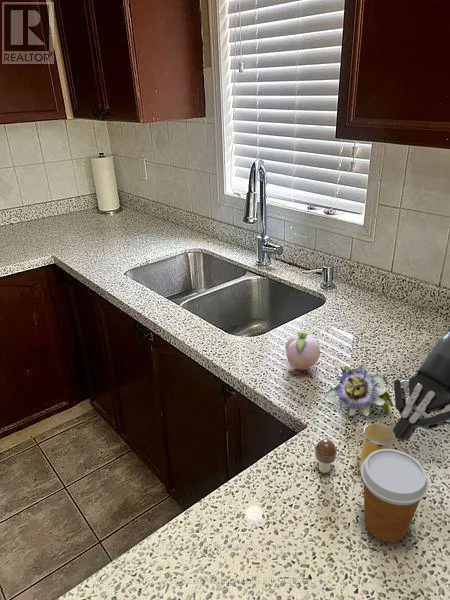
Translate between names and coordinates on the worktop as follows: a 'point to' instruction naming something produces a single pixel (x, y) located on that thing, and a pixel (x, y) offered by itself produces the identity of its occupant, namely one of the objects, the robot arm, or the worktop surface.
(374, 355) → the worktop surface
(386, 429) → the yellow tin
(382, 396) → the passion flower
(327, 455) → the mushroom
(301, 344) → the decorative fruit
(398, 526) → the disposable coffee cup
